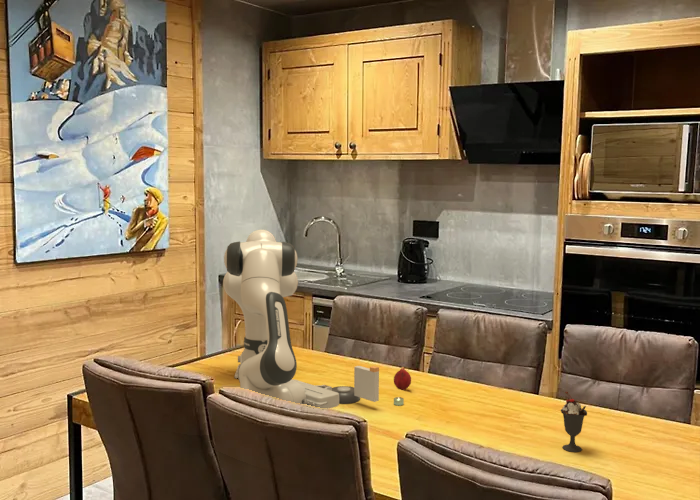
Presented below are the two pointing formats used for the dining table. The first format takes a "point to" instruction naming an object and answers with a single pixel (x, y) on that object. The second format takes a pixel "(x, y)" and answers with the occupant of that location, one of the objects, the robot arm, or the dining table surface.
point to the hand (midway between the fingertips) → (328, 388)
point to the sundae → (573, 422)
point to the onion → (402, 379)
